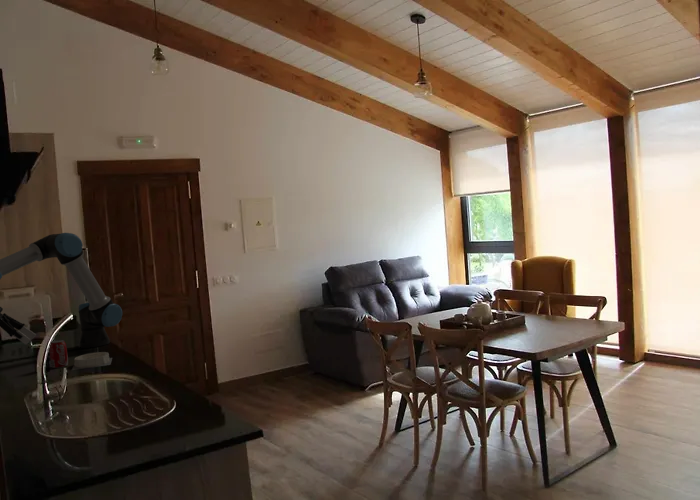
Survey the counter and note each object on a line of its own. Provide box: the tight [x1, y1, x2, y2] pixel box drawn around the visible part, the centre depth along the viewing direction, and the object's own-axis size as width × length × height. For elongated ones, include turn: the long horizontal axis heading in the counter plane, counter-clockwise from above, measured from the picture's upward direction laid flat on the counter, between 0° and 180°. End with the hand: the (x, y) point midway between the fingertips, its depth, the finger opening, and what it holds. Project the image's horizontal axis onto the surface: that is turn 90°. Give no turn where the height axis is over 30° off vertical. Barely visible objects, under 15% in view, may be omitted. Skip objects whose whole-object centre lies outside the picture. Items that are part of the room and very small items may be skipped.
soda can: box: [48, 339, 69, 369], centre depth 277 cm, size 7×7×12 cm
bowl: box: [74, 351, 110, 369], centre depth 276 cm, size 14×14×4 cm
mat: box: [71, 357, 113, 371], centre depth 277 cm, size 16×16×1 cm
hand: (31, 339), depth 273 cm, fingers open, 13 cm apart
